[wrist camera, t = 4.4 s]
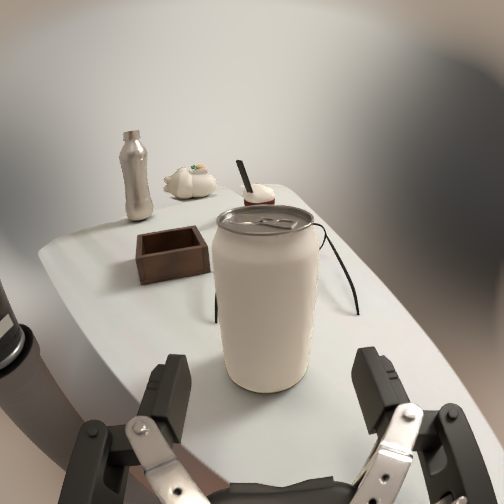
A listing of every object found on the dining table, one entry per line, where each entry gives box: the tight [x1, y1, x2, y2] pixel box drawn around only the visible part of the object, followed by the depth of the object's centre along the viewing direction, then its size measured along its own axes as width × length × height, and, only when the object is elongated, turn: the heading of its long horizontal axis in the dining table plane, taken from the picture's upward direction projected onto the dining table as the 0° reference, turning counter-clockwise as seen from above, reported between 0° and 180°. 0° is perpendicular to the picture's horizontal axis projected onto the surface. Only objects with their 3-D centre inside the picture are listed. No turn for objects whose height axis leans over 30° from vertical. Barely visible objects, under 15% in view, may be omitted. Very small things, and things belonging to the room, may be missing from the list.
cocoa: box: [236, 160, 275, 206], centre depth 56 cm, size 10×6×12 cm, turn 113°
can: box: [212, 205, 319, 393], centre depth 19 cm, size 6×6×12 cm
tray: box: [136, 226, 211, 285], centre depth 38 cm, size 9×9×4 cm
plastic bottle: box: [119, 130, 153, 220], centre depth 56 cm, size 6×7×20 cm
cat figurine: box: [164, 165, 217, 199], centre depth 76 cm, size 10×8×15 cm
